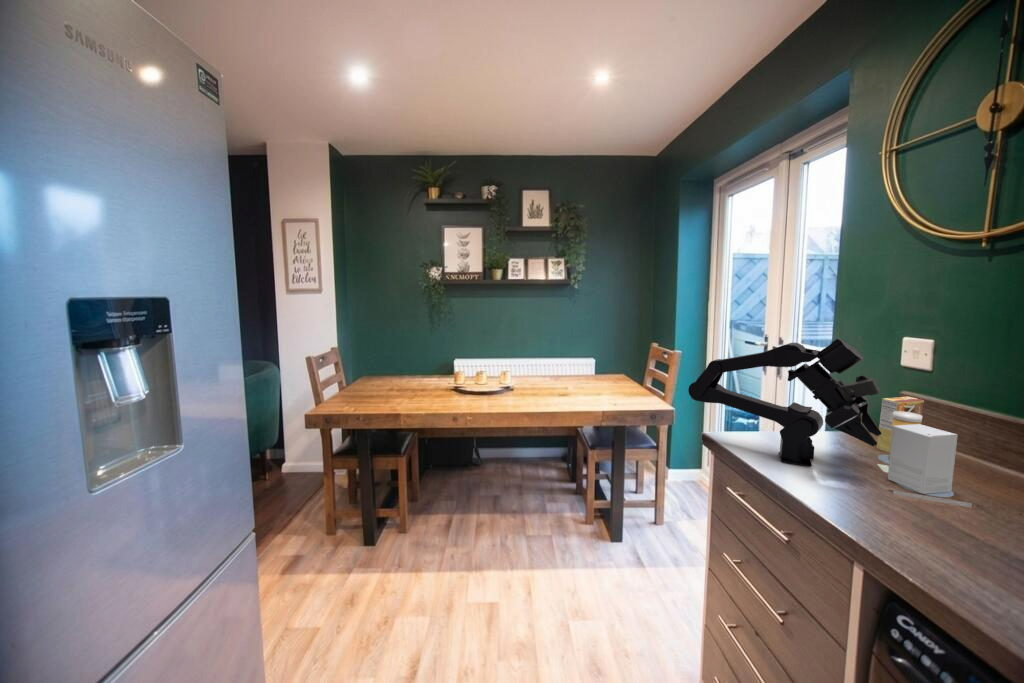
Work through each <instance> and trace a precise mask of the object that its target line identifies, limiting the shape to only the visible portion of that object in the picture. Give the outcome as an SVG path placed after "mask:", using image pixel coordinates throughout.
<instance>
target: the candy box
mask: <svg viewBox="0 0 1024 683" xmlns="http://www.w3.org/2000/svg"><path fill="white" fill-rule="evenodd" d="M881 399H882V400H881V409H880V414H879V415H880V417H879V426H878V428H879V430H880V431H881V433H882V434H881V435H879V436H877V441H876V442H877V445H876V449H878V450H881V451H884V452H887V453H889V448H890V439H891V430H892V421H893V417H892V416H893V412H894V411H904V412H911V413H916V414H919V415H922V416H923V410H924V406H925V400H924V399H920V398H916V397H912V396H900V397H899V396H898V397H897V396H896V397H886V398H885V397H884V398H883V397H882V398H881Z"/></svg>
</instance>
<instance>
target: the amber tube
mask: <svg viewBox="0 0 1024 683" xmlns="http://www.w3.org/2000/svg"><path fill="white" fill-rule="evenodd" d="M892 417H893V421H892V426H897V425H912V424H921V425H922V421H923V414H922V415H919V414H916V413H911V412H904V411H894V412H893V416H892ZM891 438H892V430H891ZM890 448H891V439H890ZM890 448H889V452H888V455H889V457H888V459H889V458H890Z"/></svg>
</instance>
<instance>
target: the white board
mask: <svg viewBox="0 0 1024 683" xmlns="http://www.w3.org/2000/svg"><path fill="white" fill-rule="evenodd" d="M888 457H889V454H879V455H878V456H877V458H878V460H880V461H881V462H883V463H886V464H881V463H880V464H879V463H876V466H878V467H879V468H880V469H881V470H882V472H883V473H887V474H888V469H889V459H888ZM887 464H888V465H887ZM896 484H897V485H899V487H900V486H901V487H902V488H905V489H906V490H909V491H911V492H912V493H911V492H905V491H901V490H900V491H899V490H894V489H893V490H892V489H889V492H890V493H891V495H893V496H900V497H905V498H910V499H911V498H912V499H916V500H917V499H918V500H923V501H929V502H935V503H941V504H947V505H951V506H957V507H958V506H959V507H964V508H965V507H966V508H971V509H972V506H973V503H971V502H966V501H960V500H954V499H948V498H950V497H953V496H954V495H955V493H954V491H953V490H951V492H941V493H927V494H922V493H920V492H917V491H915V490H913V489H910V488H908V487H906V486H903V485H901V484H899V483H896ZM913 492H914V493H913ZM917 493H918V494H917Z"/></svg>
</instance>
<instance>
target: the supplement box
mask: <svg viewBox="0 0 1024 683" xmlns="http://www.w3.org/2000/svg"><path fill="white" fill-rule="evenodd" d="M957 443H958V434H957V433H953V432H949V431H947V430H943V429H938V428H935V427H932V426H928V425H924V424H922V423H921V424H912V425H897V426H892V438H891V448H890V458H889V464H888V466H889V469H888V473H887V480H888V481H889V480H890V481H892V482H894V483H896V484H897V483H899V484H901V485H903V486H906V487H908V488H910V489H913V490H915V491H917V492H916V493H918V492H920V493H919V494H921V493H922V494H921V495H926V494H927V493H941V492H951V491H952V488H953V487H952V486H953V480H954V471H955V461H956V454H957V453H956V452H957V445H958V444H957Z"/></svg>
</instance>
